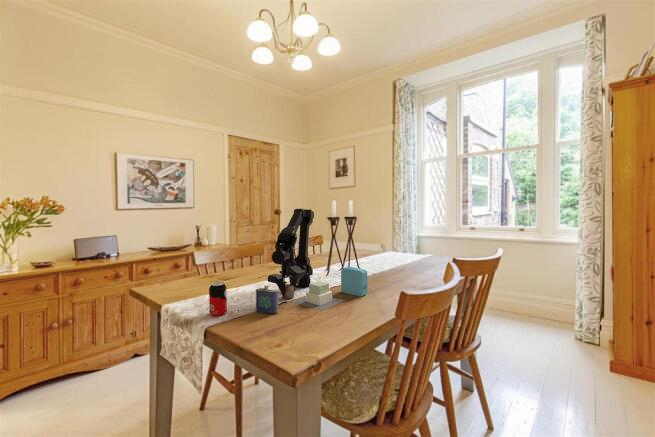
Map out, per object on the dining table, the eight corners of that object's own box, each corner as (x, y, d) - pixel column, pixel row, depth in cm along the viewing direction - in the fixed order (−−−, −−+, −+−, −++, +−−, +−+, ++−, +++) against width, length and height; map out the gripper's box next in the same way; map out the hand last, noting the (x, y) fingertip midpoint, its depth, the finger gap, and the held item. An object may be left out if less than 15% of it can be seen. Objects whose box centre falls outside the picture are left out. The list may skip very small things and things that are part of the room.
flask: (279, 312, 119) (278, 285, 119) (275, 315, 116) (275, 287, 116) (257, 310, 122) (257, 283, 121) (254, 312, 119) (253, 285, 118)
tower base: (305, 301, 130) (305, 292, 130) (318, 297, 137) (318, 288, 136) (320, 305, 125) (320, 296, 125) (332, 300, 132) (332, 291, 131)
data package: (367, 295, 140) (367, 269, 140) (362, 297, 137) (362, 271, 136) (346, 290, 148) (346, 266, 147) (340, 292, 145) (340, 267, 144)
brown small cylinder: (279, 297, 136) (279, 285, 135) (288, 294, 140) (288, 283, 139) (287, 299, 132) (287, 288, 132) (296, 296, 136) (296, 285, 136)
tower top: (309, 292, 130) (309, 284, 130) (318, 289, 135) (318, 281, 135) (319, 295, 127) (319, 286, 126) (328, 291, 131) (328, 283, 131)
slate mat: (292, 303, 130) (292, 302, 130) (317, 294, 142) (317, 293, 142) (321, 311, 120) (321, 310, 120) (345, 301, 132) (345, 300, 132)
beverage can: (217, 318, 113) (216, 286, 112) (206, 315, 116) (205, 284, 116) (230, 313, 119) (229, 282, 118) (219, 310, 122) (218, 280, 121)
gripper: (284, 265, 123) (284, 303, 124) (315, 258, 137) (315, 292, 138) (266, 262, 130) (267, 298, 131) (297, 256, 144) (298, 288, 145)
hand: (288, 294), depth 136 cm, fingers closed on brown small cylinder, 5 cm apart
